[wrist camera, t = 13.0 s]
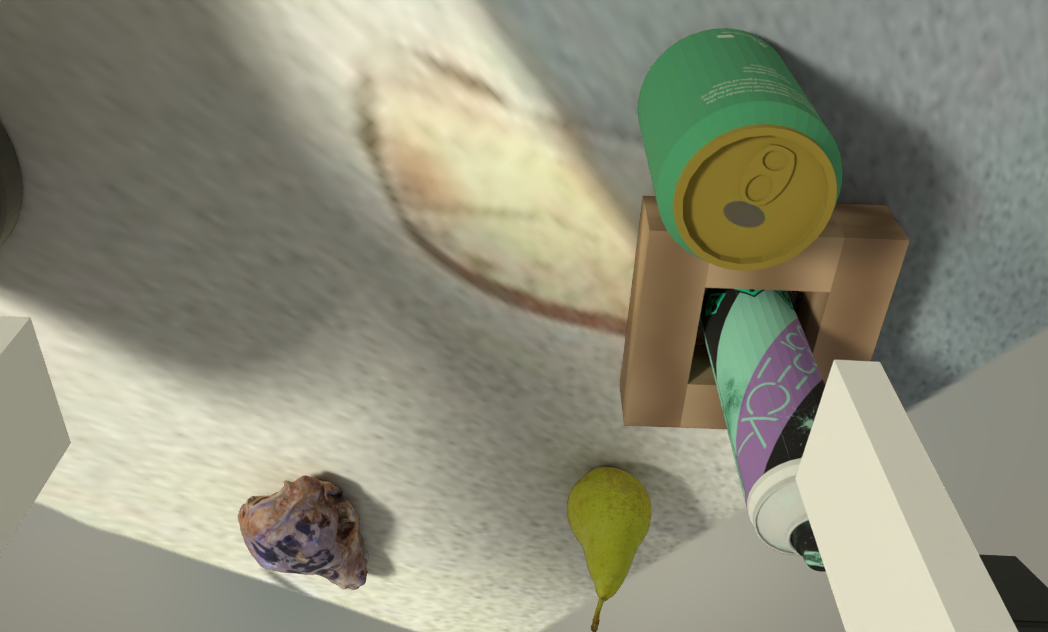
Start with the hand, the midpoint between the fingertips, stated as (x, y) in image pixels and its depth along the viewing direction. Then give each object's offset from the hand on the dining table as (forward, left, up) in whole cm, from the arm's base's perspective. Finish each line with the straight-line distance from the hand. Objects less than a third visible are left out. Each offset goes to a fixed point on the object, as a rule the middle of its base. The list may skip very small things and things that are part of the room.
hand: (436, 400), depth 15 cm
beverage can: (+11, -8, -35) cm, 37 cm away
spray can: (+15, -21, -35) cm, 43 cm away
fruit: (+8, -36, -35) cm, 51 cm away
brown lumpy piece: (-13, -42, -35) cm, 56 cm away
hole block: (+15, -21, -34) cm, 43 cm away
